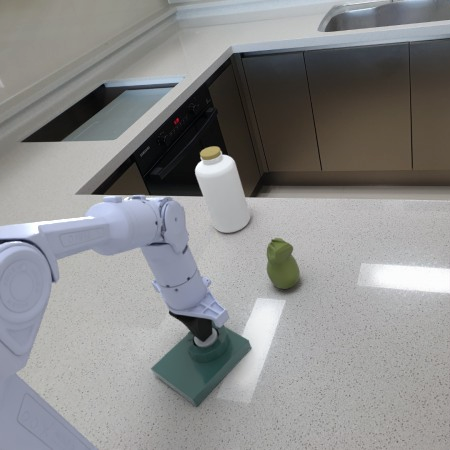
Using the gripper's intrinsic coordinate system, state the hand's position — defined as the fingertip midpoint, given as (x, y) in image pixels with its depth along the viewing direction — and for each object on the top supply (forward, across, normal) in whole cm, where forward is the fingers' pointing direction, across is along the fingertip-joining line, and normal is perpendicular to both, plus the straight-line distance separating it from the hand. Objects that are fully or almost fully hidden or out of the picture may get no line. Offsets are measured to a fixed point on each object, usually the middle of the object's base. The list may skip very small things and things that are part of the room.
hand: (205, 336), depth 71 cm
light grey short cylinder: (+2, 0, 0) cm, 2 cm away
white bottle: (+4, +22, -27) cm, 35 cm away
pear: (+4, -1, -18) cm, 19 cm away
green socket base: (+4, 0, +2) cm, 5 cm away
